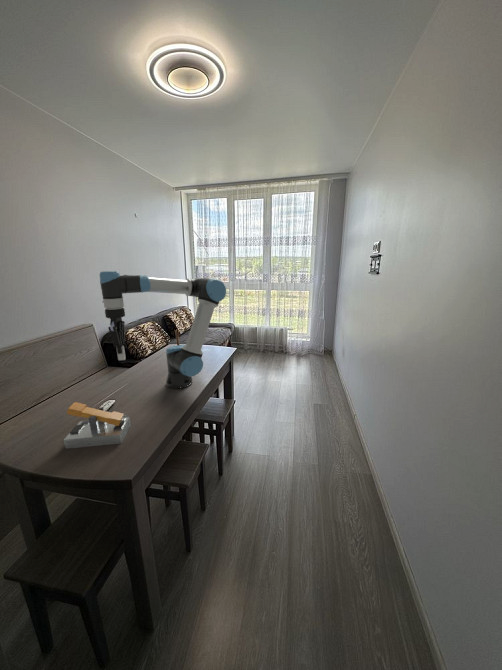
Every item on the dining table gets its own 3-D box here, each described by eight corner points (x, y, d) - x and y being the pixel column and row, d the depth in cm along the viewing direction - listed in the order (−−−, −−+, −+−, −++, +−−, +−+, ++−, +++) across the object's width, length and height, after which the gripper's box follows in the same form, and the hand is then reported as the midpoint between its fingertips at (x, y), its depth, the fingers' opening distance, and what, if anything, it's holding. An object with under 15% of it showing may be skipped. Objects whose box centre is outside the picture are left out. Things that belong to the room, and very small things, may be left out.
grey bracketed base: (130, 425, 110) (127, 402, 108) (121, 443, 99) (117, 418, 96) (81, 429, 108) (76, 406, 105) (65, 448, 96) (59, 423, 93)
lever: (122, 419, 105) (124, 413, 105) (118, 425, 101) (120, 420, 100) (73, 407, 101) (74, 401, 101) (66, 414, 96) (68, 408, 96)
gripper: (110, 306, 114) (118, 355, 120) (98, 310, 102) (107, 365, 108) (128, 305, 115) (134, 354, 121) (118, 310, 103) (126, 364, 109)
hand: (122, 359), depth 115 cm, fingers closed
